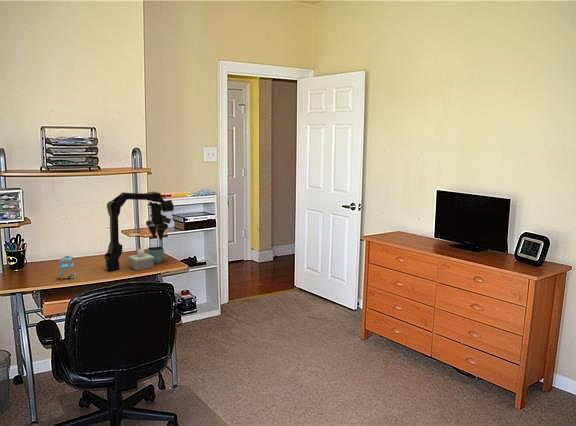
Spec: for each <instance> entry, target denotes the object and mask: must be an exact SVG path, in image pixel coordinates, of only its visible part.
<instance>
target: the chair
mask: <svg viewBox="0 0 576 426" xmlns="http://www.w3.org/2000/svg"><path fill="white" fill-rule="evenodd" d="M65 261H66V262H68V263H64V262H65ZM58 262H59V267H58V269H59V270H60V273H59V276H58V278H59V277H62V275H63V276H64V274H65V271H66V270H67V269H72V268H73V267H74V266H75V262H73V256H72V255H67V256H64V257H61V258H60V260H59V261H58ZM74 274H75V275H76V274H77V273H74ZM75 275H74V276H71V277H72V278H73V277H75ZM75 278H76V277H75Z"/></svg>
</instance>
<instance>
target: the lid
mask: <svg viewBox="0 0 576 426" xmlns="http://www.w3.org/2000/svg"><path fill="white" fill-rule="evenodd" d="M127 258H128V259H129V260H130V259H132V260H134V261H142V260H147V259H153V258H154V256H151V255H149V254H148V252H147V253H146V252H145V249H144V248H138V249H137V250H136V254H135V255H133V254H132V255H128V256H127Z"/></svg>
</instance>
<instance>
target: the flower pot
mask: <svg viewBox="0 0 576 426" xmlns="http://www.w3.org/2000/svg"><path fill="white" fill-rule="evenodd" d="M147 254H149V255H151V256H154V258H153V264H159V263H163V261H164V260H163V259H164V256H165V249H164V247H163V245H161V246H160V245H159V246H150V247H147Z"/></svg>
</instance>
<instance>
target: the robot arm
mask: <svg viewBox="0 0 576 426" xmlns="http://www.w3.org/2000/svg"><path fill="white" fill-rule="evenodd" d="M128 200H132V201H133V200H134V201H135V200H137V201H138V200H140V201H149V203H147V207H150V212H151V213H150V218H151V220H150V219H149V220H146V221H145V225H146V227H147V228H148V229H149V231H150V233H151V236H152V237H153V238H156V234H157V237H158V238H159V240H160V241H162V240H163V237H164V233H165V231H166V230H167V229H169V225H170V223H171V220H172V218H169V217H167V215H164V214H162V212H164V213H166V212H167V213H168V212H173V211H174V210H175V206H174V203H173V200H171V199H168V200H165V199H163V197H162V194H161V192H157V191H149V192H144V193H143V192H142V193H141V192H140V193H139V192H121V193H120V194H119V195H117V196H116V197H115V198H113V199H112V200H110V201H108V202H107V204H106V208H107V209H106V210H107V213H108V216H109V236H110V237H109V239H110V241H109V244H108V247H107V252H106V253H105V254H104V255H103V257H104V259H105V269H104V270H105V271H106V272H109V273H110V272H115V271H120V269H121V267H120V261H119V260H120V257H121V255H122V253H123V252H124V251H123V244H121V243H120V241H119V239H120V237H119V216H120V214H121V208H122V207H123V206H124V205H125V204H126V201H128Z"/></svg>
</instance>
